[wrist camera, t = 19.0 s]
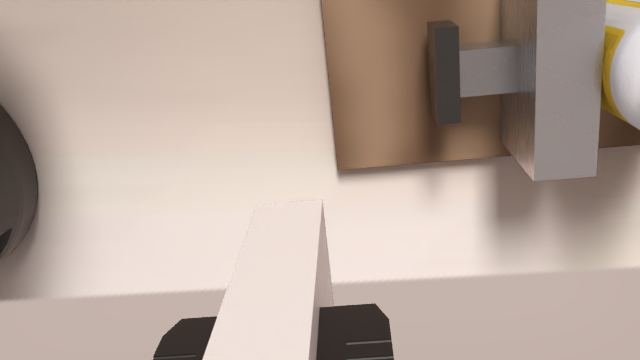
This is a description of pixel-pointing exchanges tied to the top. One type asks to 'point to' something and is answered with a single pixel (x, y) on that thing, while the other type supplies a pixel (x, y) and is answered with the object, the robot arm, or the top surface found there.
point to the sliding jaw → (530, 81)
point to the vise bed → (413, 85)
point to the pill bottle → (622, 61)
